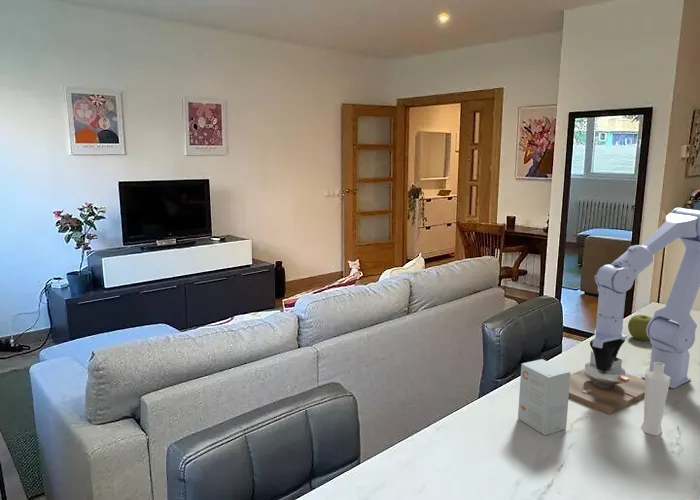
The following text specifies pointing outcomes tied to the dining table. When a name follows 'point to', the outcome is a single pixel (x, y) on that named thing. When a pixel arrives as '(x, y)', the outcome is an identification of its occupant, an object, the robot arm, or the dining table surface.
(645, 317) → the apple
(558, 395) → the small box
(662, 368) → the perfume bottle
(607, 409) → the post board
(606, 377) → the cap
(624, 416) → the dining table surface
